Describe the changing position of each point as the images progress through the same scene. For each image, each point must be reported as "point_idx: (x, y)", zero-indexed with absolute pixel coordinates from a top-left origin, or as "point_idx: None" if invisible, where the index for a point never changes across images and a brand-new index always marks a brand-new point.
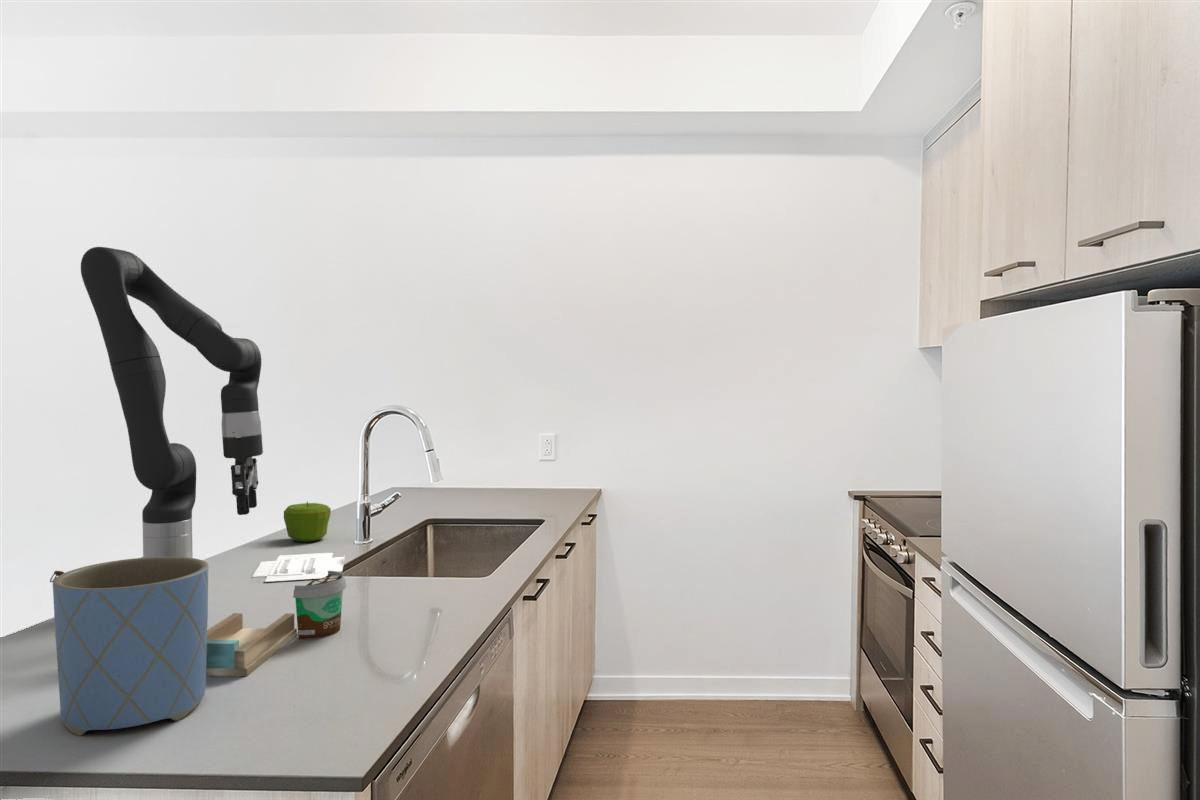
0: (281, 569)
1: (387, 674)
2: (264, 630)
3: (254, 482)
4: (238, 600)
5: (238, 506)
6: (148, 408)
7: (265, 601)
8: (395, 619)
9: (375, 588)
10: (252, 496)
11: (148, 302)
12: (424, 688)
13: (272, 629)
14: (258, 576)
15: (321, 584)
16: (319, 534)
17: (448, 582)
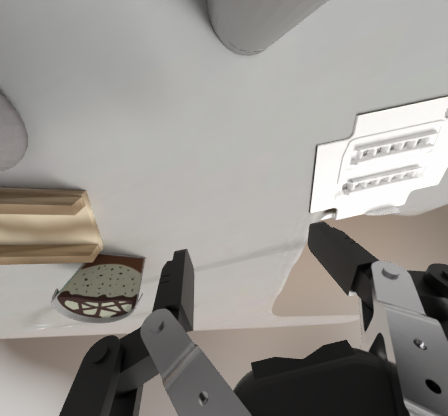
0: (372, 150)
1: (37, 318)
2: (21, 258)
3: (361, 340)
4: (233, 141)
5: (159, 281)
6: None
7: (224, 178)
8: None
9: (258, 261)
10: (332, 267)
11: None
12: (23, 335)
13: (28, 263)
14: (355, 125)
15: (70, 317)
16: None
17: (265, 298)
